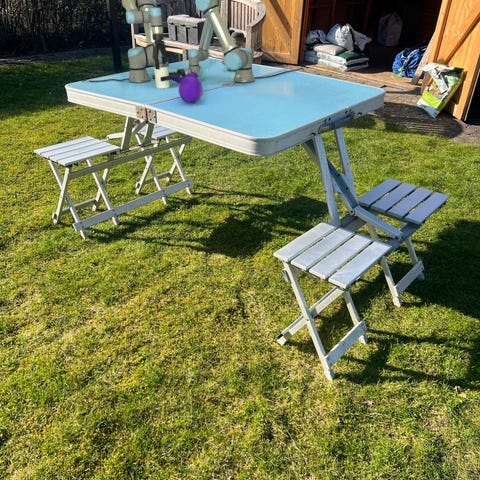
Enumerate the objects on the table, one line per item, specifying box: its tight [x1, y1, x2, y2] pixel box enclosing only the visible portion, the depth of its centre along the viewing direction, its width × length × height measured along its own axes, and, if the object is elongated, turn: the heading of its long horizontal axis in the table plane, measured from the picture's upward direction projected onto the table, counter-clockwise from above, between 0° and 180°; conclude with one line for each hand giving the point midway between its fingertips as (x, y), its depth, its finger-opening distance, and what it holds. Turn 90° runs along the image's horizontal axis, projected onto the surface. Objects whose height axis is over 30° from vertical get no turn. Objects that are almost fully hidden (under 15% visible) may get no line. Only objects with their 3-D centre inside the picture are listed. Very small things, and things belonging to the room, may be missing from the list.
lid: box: [152, 61, 170, 68], centre depth 312 cm, size 11×11×2 cm
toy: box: [168, 72, 204, 104], centre depth 278 cm, size 16×18×27 cm
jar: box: [153, 66, 171, 89], centre depth 316 cm, size 10×10×15 cm
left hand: (161, 67), depth 313 cm, fingers closed on lid, 11 cm apart
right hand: (156, 78), depth 314 cm, fingers closed on jar, 10 cm apart
